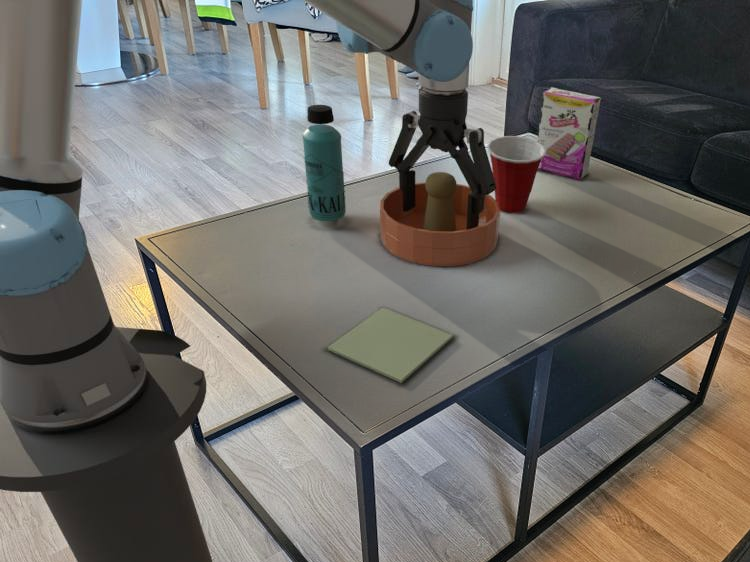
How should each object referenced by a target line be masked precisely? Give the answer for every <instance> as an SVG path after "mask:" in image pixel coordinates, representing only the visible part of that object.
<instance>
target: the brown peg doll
mask: <svg viewBox="0 0 750 562" xmlns="http://www.w3.org/2000/svg"><path fill="white" fill-rule="evenodd" d="M457 184H458V183H457V180H456V178H455V176H454V175H453V174H451V173H448V172H445V171H437V172H432V173H429V174H428V175H427V177H426V178H425V188H426V191H427V193H428V201H427V207H426V214H425V221H424V227H423V230H429V231H451V232H453V231H456V223H455V212H454V202H453V194H454V193H455V191H456V185H457Z"/></svg>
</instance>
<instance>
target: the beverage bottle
mask: <svg viewBox="0 0 750 562" xmlns="http://www.w3.org/2000/svg"><path fill="white" fill-rule="evenodd" d="M306 118H307V122H308V123H310V124H312V125H310V126H308V127H307V128H306V129H304V131H303V133H302V134H301V135H302V143H303V154H304V169H305V170H304V171H305V175H304V176H305V180H306V182H305V183H306V184H305V185H306V187H307V189H306V190H307V191H306V192H307V193H306V194H307V207H308V213H309V214H310V217H311V218H312V219H314V220H316V221H320V222H335V221H338V220H341V219H343V218H344V217H345V214H346V209H347V207H346V206H347V204H346V192H345V190H346V189H345V186H346V185H345V173H344V166H343V165H344V164H343V150H342V149H343V148H342V134H341V133H340V132H339V131H338V130H337V129H336V128H335V127H333V125H328V124H331V123H333V122H334V121H335V119H334V114H333V108H332V107H331V106H330V105H327V104H313V105H310V106H308V107H307V117H306Z"/></svg>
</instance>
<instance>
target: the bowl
mask: <svg viewBox="0 0 750 562" xmlns="http://www.w3.org/2000/svg"><path fill="white" fill-rule="evenodd" d="M425 182H426V181H425ZM425 182H415V207H414V208H412V209H411V210H409V211H407V212H405V211H403V191H402V190H400V187H399V186H398V187H396V188H394V189H393V190H391V191H388V192H387V193H385V195H384V196H383V197H382V198H381V199H380V201H379V222H380V240H381V243H382V245H383V247H384V248H385V249H386V250H387V251H388V252H389V253H391V254H392V255H393V256H395V257H398V258H399V259H401V260H404V261H406V262H409V263H414V264H416V265H417V264H418V265H425V266H430V267H456V266H463V265H469V264H472V263H475V262H478V261H481V260H482V259H485V258H487V257H488V256H490V254H491V253H493V251H495V249H496V248H497V244H498V241H499V232H500V231H499V230H500V221H501V220H500V219H501V210H500V208H499V204H498V202H497V201H496V200H495V197H493V196H491V195H490V194H489V195H485V200H484V210H483V211H482V212H481V213H479V225H478V227H475V228H472V229H467V230H466V227H467V208H468V195H469V194H470V193H472V191H471V189H470V187H469V185H466V184H460V183H457V185H456V191H455V193H454V194H453V202H454V212H455V223H456V231H453V232H451V231H429V230H423V227H424V221H425V214H426V207H427V201H428V193H427V191H426V188H425Z"/></svg>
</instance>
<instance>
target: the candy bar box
mask: <svg viewBox="0 0 750 562" xmlns="http://www.w3.org/2000/svg"><path fill="white" fill-rule="evenodd" d="M541 100H542V103H541V109H540V116H539V126H538V133H537V140H536V141H538V142H539V143H541V144H542V145H544V147H545V149H546V153H545V155H544V157H543V158H542V159H541V162H540V164H539V167H538V169H537V171H541V172H545V173H549V174H553V175H556V176H557V175H558V176H562V177H567V178H570V179H575V180H579V181H581V180H583V179H584V177H585V176H587V174H589V167H590V161H591V156H592V151H593V145H594V140H595V134H596V128H597V123H598V117H599V111H600V107H601V106H600V105H601V101H602V97H600V96H596V95H591V94H586V93H581V92H576V91H571V90H567V89H562V88H557V87H552V86H551V87H550V88H548V89H547V90H544V91H543V94H542V99H541Z"/></svg>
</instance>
